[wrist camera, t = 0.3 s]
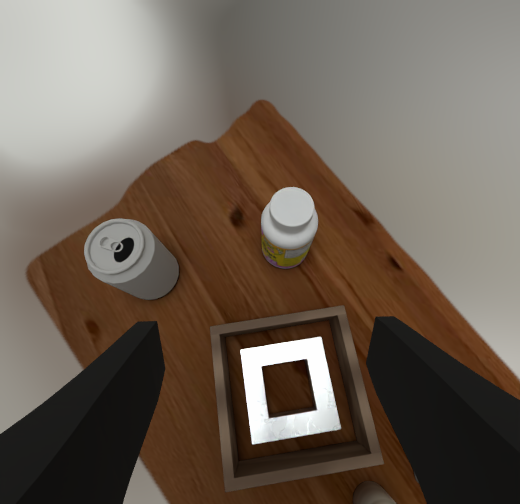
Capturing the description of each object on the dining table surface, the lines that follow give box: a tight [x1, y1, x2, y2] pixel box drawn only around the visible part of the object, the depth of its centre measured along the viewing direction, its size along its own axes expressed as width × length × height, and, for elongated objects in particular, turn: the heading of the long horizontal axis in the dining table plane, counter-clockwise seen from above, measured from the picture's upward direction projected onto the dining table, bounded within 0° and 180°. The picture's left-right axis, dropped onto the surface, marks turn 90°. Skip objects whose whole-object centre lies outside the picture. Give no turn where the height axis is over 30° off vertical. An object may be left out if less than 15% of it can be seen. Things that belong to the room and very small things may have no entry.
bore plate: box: [241, 337, 341, 444], centre depth 35 cm, size 10×10×2 cm
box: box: [210, 305, 384, 492], centre depth 34 cm, size 16×16×5 cm
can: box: [84, 219, 179, 300], centre depth 36 cm, size 8×8×12 cm
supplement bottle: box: [261, 187, 318, 269], centre depth 36 cm, size 7×7×13 cm
